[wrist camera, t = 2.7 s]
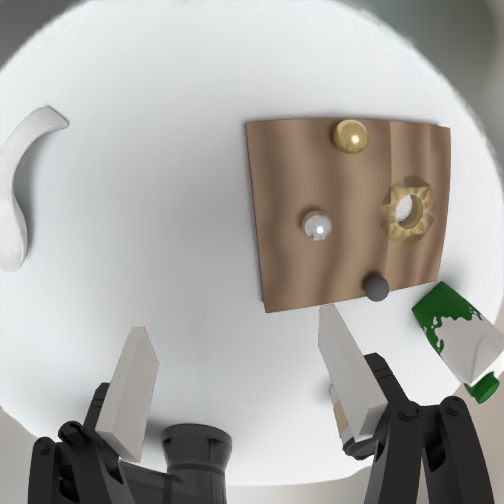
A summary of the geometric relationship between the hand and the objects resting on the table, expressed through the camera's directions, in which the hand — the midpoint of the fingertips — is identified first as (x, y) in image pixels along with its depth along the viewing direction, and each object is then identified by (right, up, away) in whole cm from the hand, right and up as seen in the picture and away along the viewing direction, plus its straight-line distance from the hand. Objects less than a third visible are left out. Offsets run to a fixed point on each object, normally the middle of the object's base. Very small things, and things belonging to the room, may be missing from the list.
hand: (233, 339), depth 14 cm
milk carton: (+32, -5, +26) cm, 42 cm away
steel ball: (+8, +7, +14) cm, 18 cm away
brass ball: (+11, +16, +11) cm, 22 cm away
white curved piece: (-30, +13, +14) cm, 35 cm away
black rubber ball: (+16, 0, +18) cm, 25 cm away
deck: (+14, +10, +18) cm, 25 cm away
